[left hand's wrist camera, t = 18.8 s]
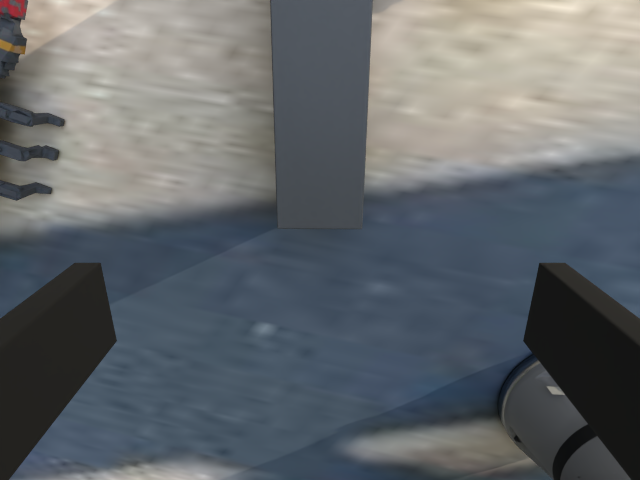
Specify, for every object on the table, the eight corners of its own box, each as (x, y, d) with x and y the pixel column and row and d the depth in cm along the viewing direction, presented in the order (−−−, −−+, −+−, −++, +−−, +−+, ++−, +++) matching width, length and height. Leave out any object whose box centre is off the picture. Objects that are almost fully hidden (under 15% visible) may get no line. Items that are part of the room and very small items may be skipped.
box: (351, 193, 39) (362, 229, 30) (287, 192, 39) (277, 228, 30) (362, -99, 31) (381, -176, 22) (281, -99, 31) (264, -177, 22)
